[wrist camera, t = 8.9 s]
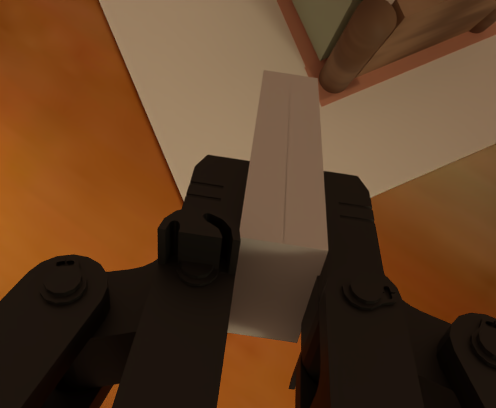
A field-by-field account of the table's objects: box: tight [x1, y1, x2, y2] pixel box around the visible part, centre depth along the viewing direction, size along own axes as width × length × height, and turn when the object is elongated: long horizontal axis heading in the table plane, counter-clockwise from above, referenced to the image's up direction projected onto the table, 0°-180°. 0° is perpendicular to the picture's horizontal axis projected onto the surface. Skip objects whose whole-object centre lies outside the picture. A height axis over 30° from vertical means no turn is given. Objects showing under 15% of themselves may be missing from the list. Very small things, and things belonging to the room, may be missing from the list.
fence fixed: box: [319, 0, 496, 93], centre depth 26 cm, size 12×2×8 cm, turn 113°
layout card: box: [99, 0, 496, 201], centre depth 30 cm, size 25×22×1 cm
